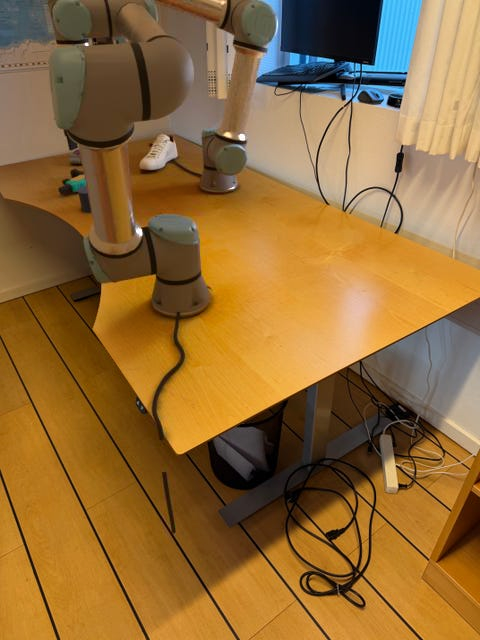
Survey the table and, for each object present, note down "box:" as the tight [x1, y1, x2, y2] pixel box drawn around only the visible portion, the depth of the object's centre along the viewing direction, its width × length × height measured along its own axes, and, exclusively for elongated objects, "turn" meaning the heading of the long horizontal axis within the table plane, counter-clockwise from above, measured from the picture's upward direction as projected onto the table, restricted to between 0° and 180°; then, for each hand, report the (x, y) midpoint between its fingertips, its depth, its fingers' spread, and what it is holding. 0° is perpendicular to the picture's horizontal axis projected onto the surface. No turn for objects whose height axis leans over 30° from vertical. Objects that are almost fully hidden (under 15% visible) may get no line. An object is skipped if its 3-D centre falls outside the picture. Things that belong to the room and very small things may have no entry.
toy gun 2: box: [58, 168, 87, 196], centre depth 194 cm, size 4×26×15 cm
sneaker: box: [139, 133, 179, 171], centre depth 214 cm, size 10×29×12 cm, turn 163°
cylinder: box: [77, 186, 92, 213], centre depth 175 cm, size 7×7×7 cm
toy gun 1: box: [67, 148, 82, 165], centre depth 221 cm, size 4×19×15 cm
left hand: (93, 152), depth 128 cm, fingers open, 13 cm apart
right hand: (113, 98), depth 151 cm, fingers open, 13 cm apart
